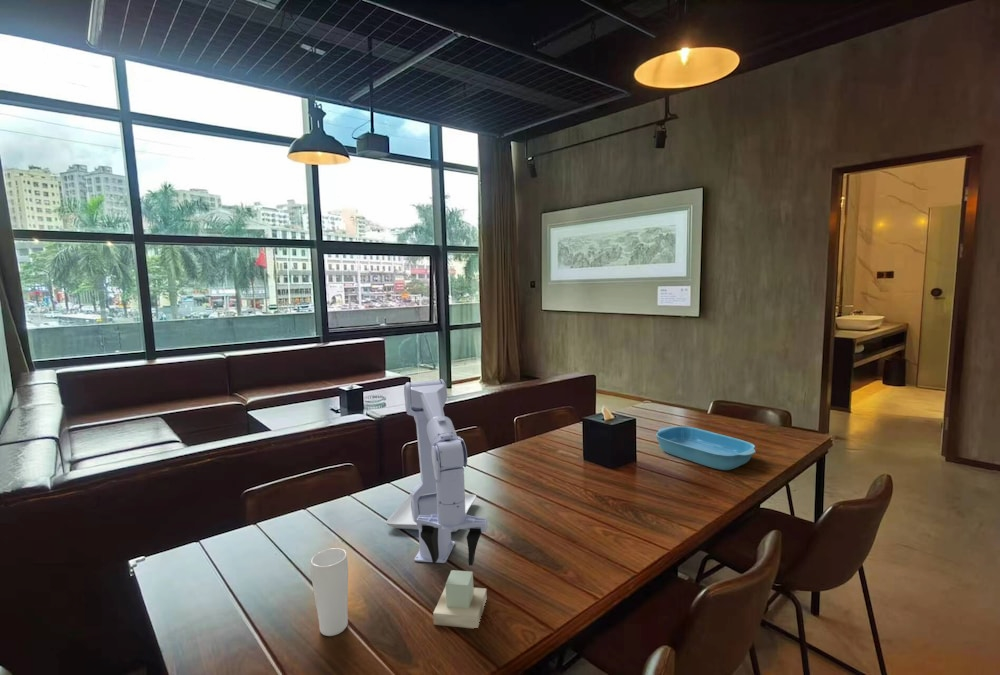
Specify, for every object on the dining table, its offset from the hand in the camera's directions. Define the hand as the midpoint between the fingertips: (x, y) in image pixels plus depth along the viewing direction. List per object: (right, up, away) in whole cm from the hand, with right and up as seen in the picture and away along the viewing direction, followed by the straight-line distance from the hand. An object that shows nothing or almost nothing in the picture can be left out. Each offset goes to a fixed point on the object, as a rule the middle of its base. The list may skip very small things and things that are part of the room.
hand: (453, 561), depth 99 cm
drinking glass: (-23, -12, -4) cm, 26 cm away
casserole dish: (+87, +1, +83) cm, 121 cm away
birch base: (+2, -11, 0) cm, 11 cm away
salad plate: (-10, -7, +41) cm, 43 cm away
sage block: (+1, -8, 0) cm, 8 cm away
